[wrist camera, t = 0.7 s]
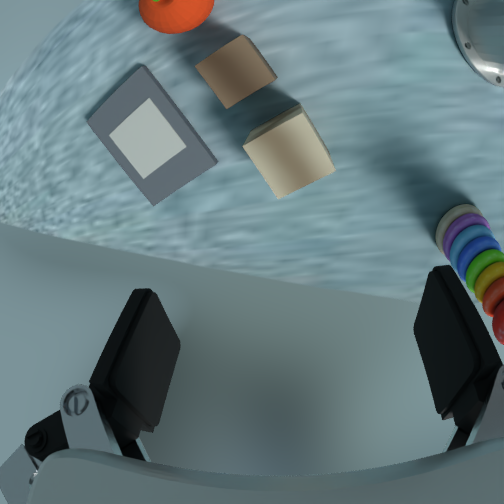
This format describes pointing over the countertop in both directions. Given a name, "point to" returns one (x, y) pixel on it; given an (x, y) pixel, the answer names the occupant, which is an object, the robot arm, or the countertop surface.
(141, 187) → the board
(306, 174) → the maple cube
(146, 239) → the countertop surface
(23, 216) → the countertop surface
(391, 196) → the countertop surface
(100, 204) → the countertop surface
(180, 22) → the clementine
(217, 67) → the walnut cube
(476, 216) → the stacking toy
